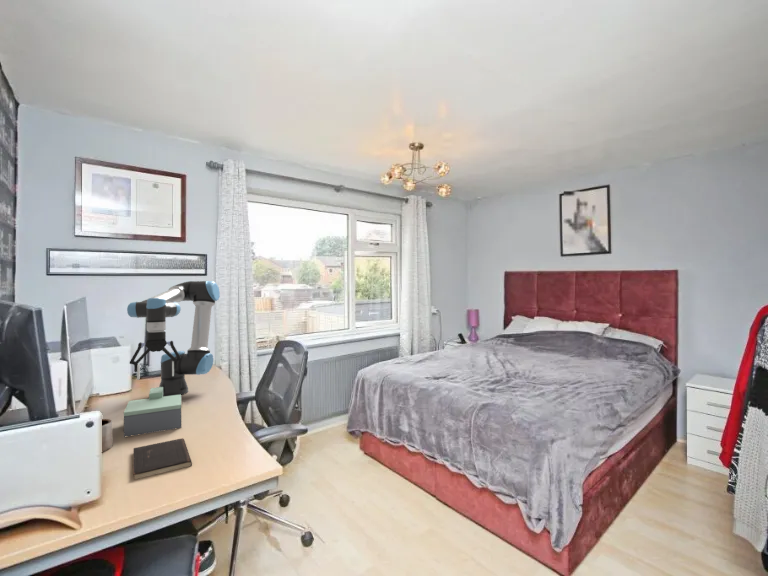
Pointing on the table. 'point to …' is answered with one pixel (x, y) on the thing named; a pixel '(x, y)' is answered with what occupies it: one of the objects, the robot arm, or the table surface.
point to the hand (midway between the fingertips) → (156, 377)
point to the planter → (106, 434)
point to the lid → (153, 403)
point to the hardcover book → (160, 458)
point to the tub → (152, 422)
